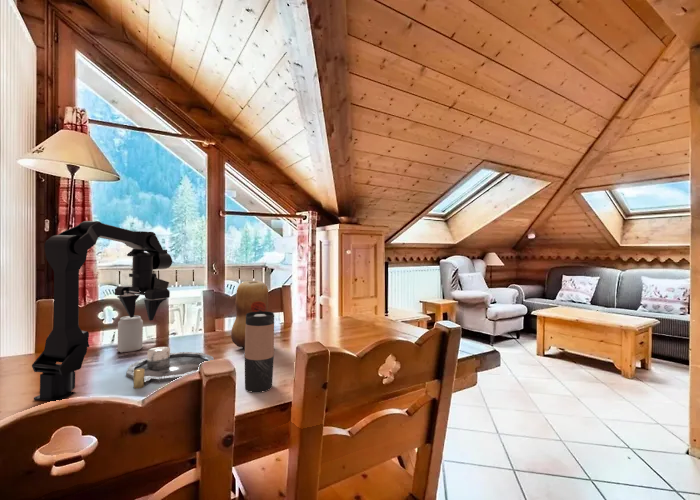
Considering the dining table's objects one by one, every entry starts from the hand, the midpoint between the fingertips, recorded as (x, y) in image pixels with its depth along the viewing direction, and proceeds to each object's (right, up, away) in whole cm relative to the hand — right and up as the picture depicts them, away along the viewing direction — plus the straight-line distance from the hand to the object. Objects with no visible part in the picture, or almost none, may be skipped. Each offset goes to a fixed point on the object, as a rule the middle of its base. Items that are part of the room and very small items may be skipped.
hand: (141, 318), depth 113 cm
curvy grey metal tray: (+13, -14, -9) cm, 21 cm away
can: (-10, -14, +10) cm, 20 cm away
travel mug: (+43, -15, -18) cm, 49 cm away
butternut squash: (+30, -15, +17) cm, 38 cm away
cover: (+9, -13, -6) cm, 17 cm away
